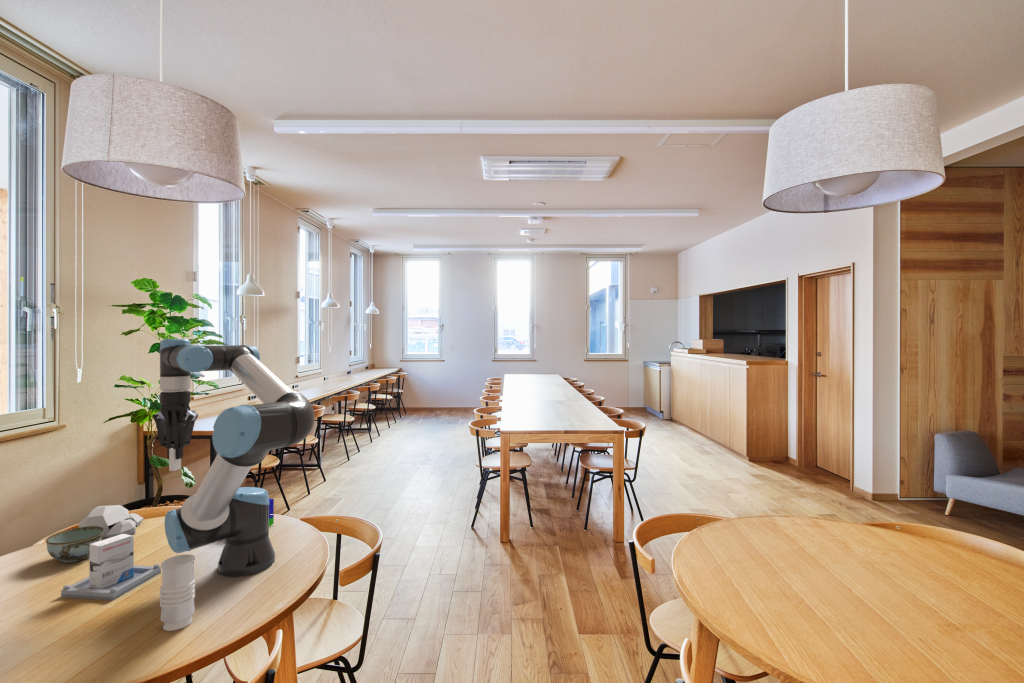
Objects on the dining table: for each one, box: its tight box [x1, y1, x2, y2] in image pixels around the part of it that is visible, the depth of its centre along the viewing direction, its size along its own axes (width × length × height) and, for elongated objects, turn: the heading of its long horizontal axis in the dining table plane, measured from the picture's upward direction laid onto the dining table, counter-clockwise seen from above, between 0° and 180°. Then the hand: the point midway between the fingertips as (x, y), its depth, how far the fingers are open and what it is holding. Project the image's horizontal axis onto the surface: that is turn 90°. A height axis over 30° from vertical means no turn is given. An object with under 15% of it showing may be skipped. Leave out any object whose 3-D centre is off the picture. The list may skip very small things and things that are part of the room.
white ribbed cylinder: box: [159, 553, 196, 632], centre depth 115 cm, size 7×7×15 cm
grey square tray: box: [60, 563, 162, 601], centre depth 133 cm, size 15×15×3 cm
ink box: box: [88, 534, 135, 589], centre depth 133 cm, size 8×5×12 cm, turn 157°
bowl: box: [45, 526, 105, 564], centre depth 148 cm, size 14×13×8 cm
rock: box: [77, 504, 144, 539], centre depth 169 cm, size 18×20×10 cm
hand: (175, 469), depth 143 cm, fingers closed
